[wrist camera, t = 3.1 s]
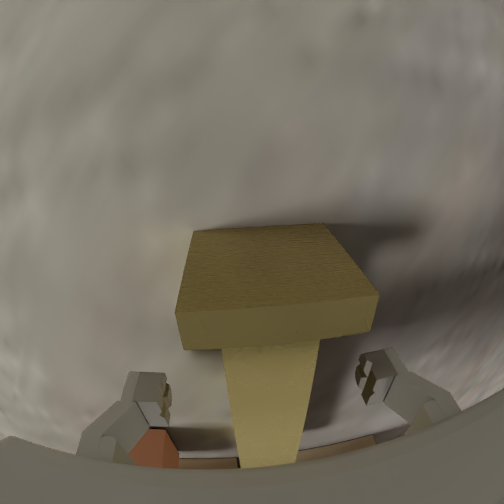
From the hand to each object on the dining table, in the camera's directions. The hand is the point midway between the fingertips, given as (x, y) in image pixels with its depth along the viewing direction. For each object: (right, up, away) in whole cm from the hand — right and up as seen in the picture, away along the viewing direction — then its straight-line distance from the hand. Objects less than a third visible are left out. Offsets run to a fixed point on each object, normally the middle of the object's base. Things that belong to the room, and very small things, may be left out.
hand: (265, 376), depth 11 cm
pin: (0, -1, +3) cm, 3 cm away
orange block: (-7, -8, +6) cm, 12 cm away
